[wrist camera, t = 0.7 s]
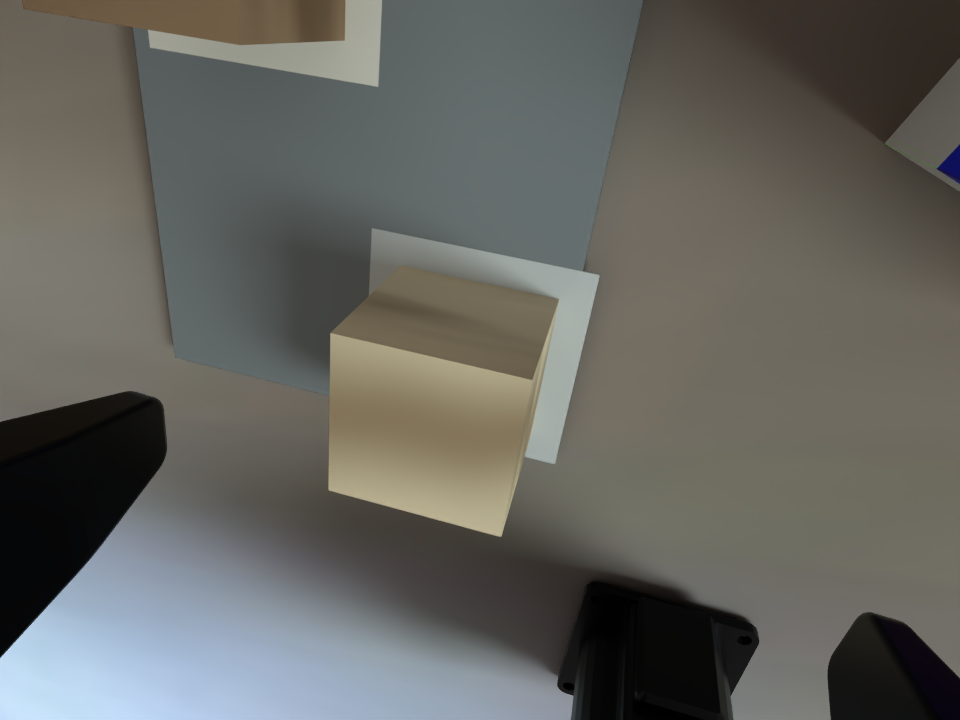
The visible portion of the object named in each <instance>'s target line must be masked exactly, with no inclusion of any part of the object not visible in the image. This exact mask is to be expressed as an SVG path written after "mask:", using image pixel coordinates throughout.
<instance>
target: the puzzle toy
mask: <svg viewBox="0 0 960 720" xmlns="http://www.w3.org/2000/svg"><path fill="white" fill-rule="evenodd" d="M885 144H886V145H887V146H889V147H890V148H892V149H894V150H895V151H897V152H898V153H900V154H901V155H903V156H904V157H906V158H908V159H909V160H911V161H912V162H914V163H915V164H917V165H919V166H920V167H922V168H923V169H925V170H926V171H928V172H930V173H931V174H933V175H934V176H936V177H937V178H939V179H940V180H942V181H944V182H945V183H947V184H948V185H950V186H951V187H953V188H955V189H956V190H958V191H959V192H960V58H959V59H958V60H957V61H956V63H955V64H954V65H953V66H952V67H951V68H950V69H949V70H948V72H947V73H946V74H945V75H944V76H943V77H942V78H941V80H940V81H939V82H938V83H937V84H936V85H935V86H934V88H933V89H932V90H931V91H930V92H929V93H928V94H927V96H926V97H925V98H924V99H923V100H922V101H921V102H920V104H919V105H918V106H917V107H916V108H915V109H914V110H913V112H912V113H911V114H910V115H909V116H908V117H907V118H906V120H905V121H904V122H903V123H902V124H901V125H900V126H899V128H898V129H897V130H896V131H895V132H894V133H893V134H892V136H891V137H890V138H889V139H888V140H887V141H886V142H885Z"/></svg>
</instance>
